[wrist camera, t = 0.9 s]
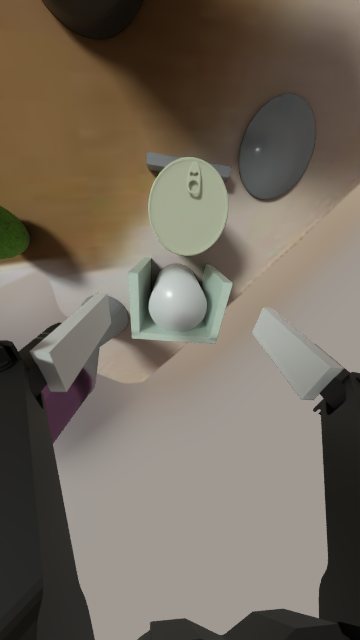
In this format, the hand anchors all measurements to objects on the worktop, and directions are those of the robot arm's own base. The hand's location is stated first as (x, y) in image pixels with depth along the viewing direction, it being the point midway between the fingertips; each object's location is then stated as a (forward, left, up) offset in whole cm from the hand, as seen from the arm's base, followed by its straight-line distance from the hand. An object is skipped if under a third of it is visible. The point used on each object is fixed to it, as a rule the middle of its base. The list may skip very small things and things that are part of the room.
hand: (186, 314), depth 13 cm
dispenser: (-3, 0, -21) cm, 21 cm away
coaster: (-18, +13, -21) cm, 30 cm away
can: (-8, 0, -21) cm, 23 cm away
